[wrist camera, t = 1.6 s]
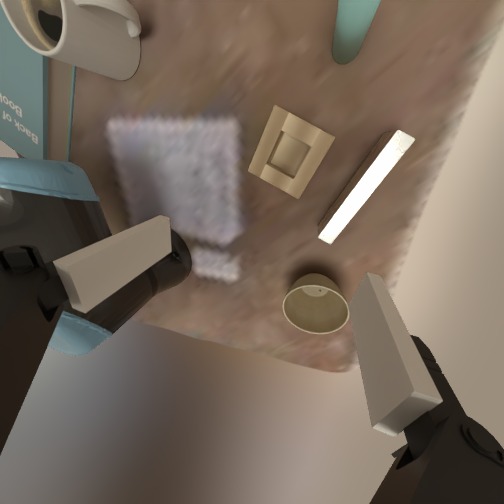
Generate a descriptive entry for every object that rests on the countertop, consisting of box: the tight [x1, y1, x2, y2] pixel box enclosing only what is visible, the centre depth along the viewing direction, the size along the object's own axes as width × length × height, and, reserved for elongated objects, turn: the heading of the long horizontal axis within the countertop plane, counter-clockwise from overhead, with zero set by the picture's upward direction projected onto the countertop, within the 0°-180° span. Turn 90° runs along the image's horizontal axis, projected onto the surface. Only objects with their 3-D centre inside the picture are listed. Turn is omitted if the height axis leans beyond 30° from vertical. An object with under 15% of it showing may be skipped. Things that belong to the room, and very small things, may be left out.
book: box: [0, 3, 76, 162], centre depth 33 cm, size 23×16×5 cm
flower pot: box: [283, 273, 350, 334], centre depth 34 cm, size 10×10×7 cm
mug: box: [0, 0, 141, 81], centre depth 24 cm, size 11×10×10 cm
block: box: [248, 105, 335, 199], centre depth 27 cm, size 8×8×4 cm
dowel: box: [332, 0, 381, 64], centre depth 17 cm, size 3×3×12 cm
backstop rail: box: [318, 130, 415, 244], centre depth 26 cm, size 2×14×5 cm, turn 155°
